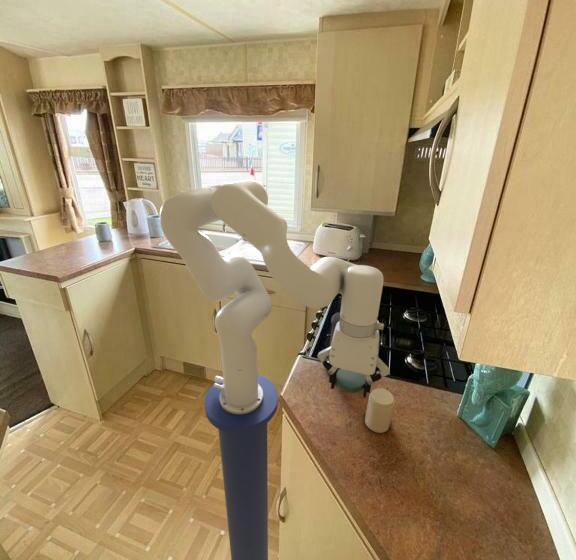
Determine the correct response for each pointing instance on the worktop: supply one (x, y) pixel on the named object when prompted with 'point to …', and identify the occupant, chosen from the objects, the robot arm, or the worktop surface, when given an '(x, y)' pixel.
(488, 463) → the worktop surface
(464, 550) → the worktop surface
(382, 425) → the jam jar
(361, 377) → the jam lid
